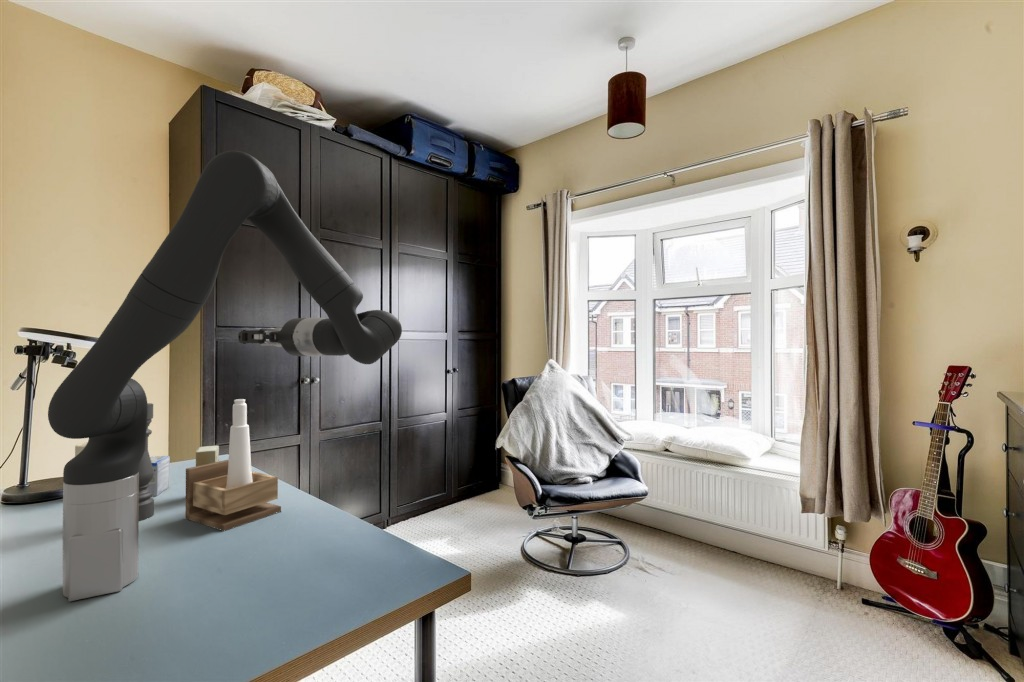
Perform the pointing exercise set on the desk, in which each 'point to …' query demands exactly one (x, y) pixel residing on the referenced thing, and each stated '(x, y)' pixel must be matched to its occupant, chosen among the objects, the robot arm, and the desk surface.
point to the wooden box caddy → (227, 497)
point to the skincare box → (207, 455)
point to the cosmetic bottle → (239, 448)
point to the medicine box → (159, 474)
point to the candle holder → (146, 476)
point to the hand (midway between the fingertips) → (260, 337)
